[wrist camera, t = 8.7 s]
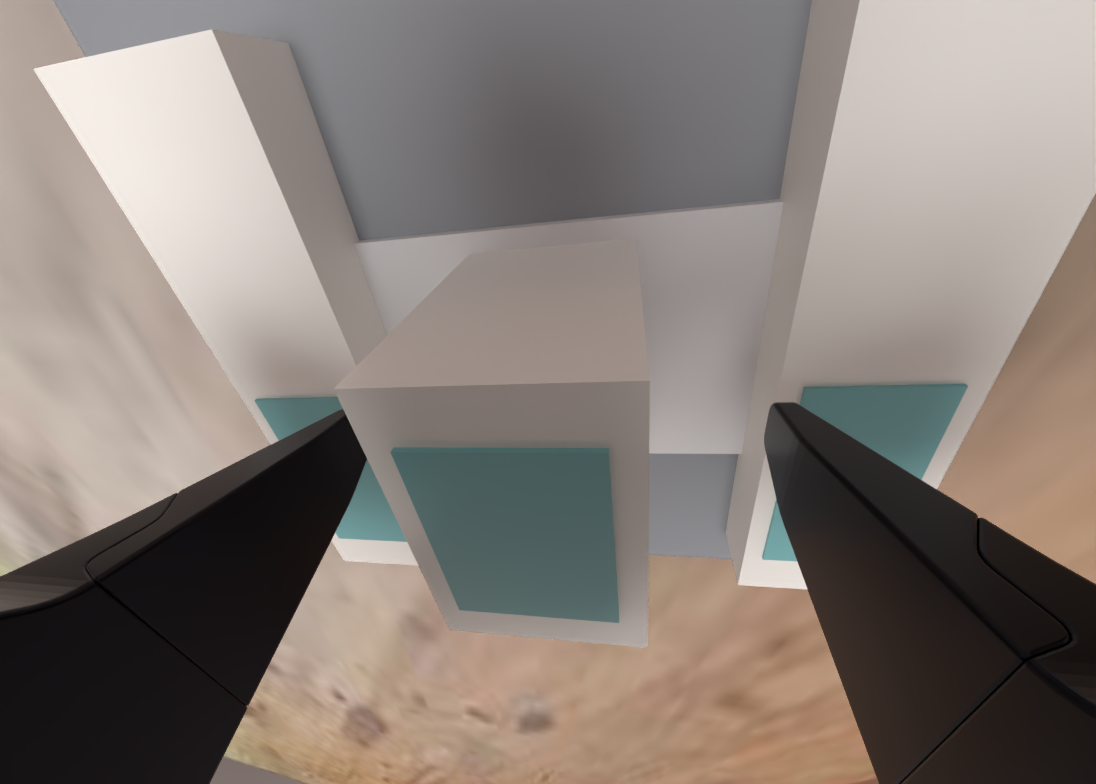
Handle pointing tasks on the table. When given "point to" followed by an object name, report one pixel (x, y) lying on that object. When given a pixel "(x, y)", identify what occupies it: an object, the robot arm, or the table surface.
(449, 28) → the rail board
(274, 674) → the table surface
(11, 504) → the table surface
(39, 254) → the table surface
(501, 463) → the block
